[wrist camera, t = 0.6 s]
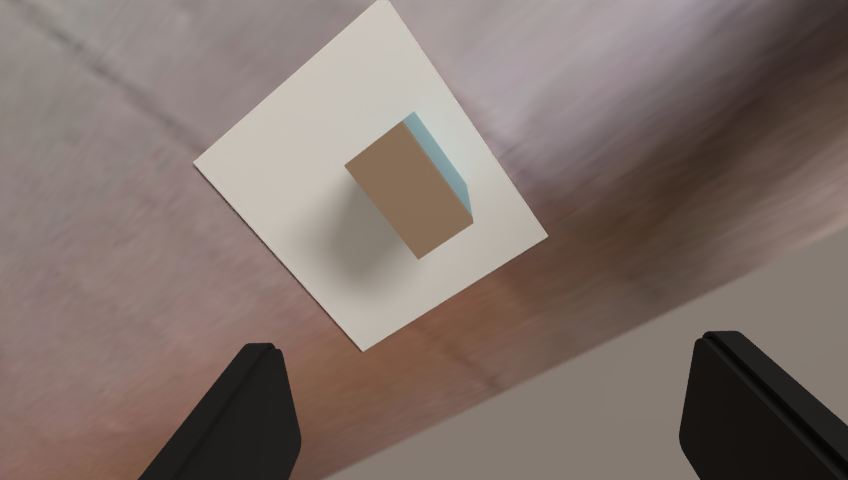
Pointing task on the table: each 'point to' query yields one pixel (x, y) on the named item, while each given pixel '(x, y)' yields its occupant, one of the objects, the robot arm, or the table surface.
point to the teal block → (414, 186)
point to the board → (344, 198)
